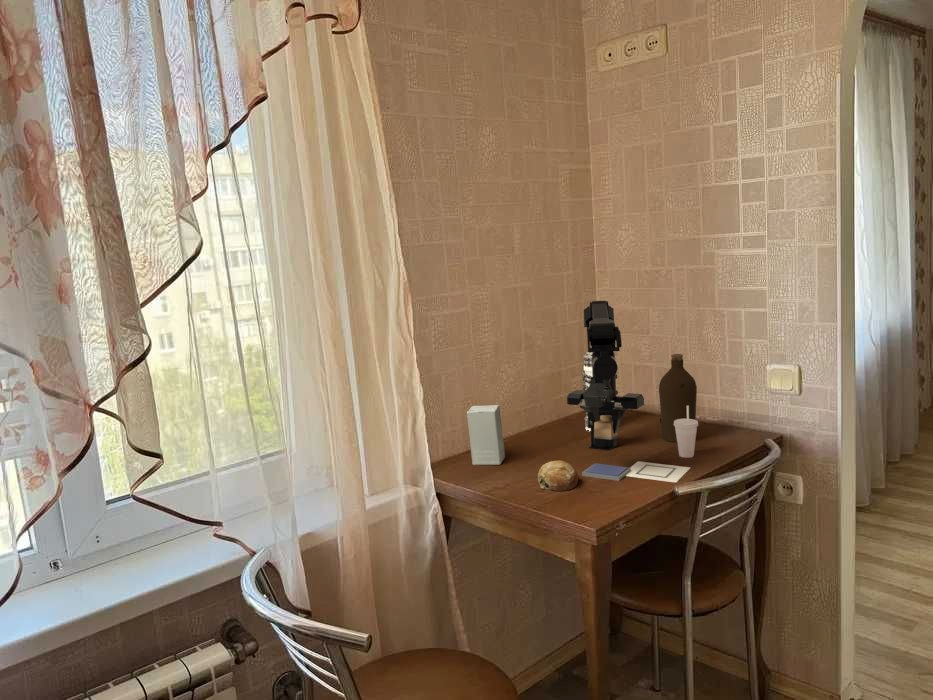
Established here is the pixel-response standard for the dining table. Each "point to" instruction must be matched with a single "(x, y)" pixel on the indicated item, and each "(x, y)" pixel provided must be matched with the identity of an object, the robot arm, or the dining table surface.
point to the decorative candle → (587, 378)
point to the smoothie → (686, 435)
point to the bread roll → (557, 476)
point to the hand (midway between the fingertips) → (606, 432)
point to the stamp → (604, 428)
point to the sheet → (657, 471)
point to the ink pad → (606, 471)
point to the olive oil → (676, 397)
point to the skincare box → (486, 435)
